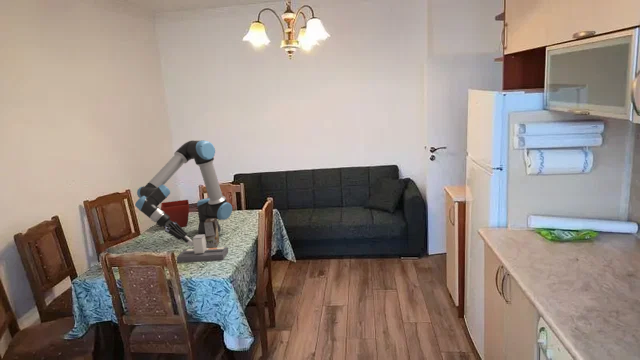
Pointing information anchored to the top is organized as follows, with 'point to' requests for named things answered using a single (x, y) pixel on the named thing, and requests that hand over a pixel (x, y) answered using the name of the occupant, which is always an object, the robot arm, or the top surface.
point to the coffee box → (211, 232)
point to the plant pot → (177, 211)
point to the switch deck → (203, 255)
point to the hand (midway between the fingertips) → (192, 244)
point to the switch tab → (199, 243)
